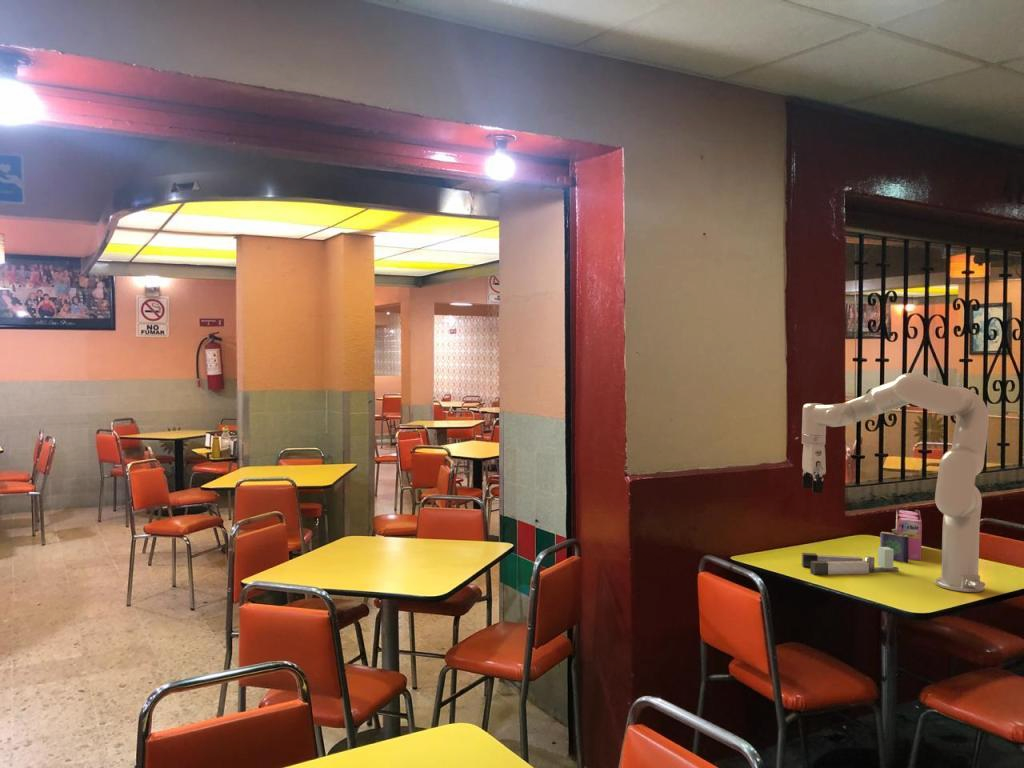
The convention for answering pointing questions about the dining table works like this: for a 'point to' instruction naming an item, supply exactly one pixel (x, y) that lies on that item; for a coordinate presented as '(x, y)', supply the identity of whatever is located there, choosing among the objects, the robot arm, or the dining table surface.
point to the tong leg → (825, 558)
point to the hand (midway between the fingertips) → (812, 490)
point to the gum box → (910, 531)
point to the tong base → (846, 567)
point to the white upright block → (885, 557)
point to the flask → (896, 544)
